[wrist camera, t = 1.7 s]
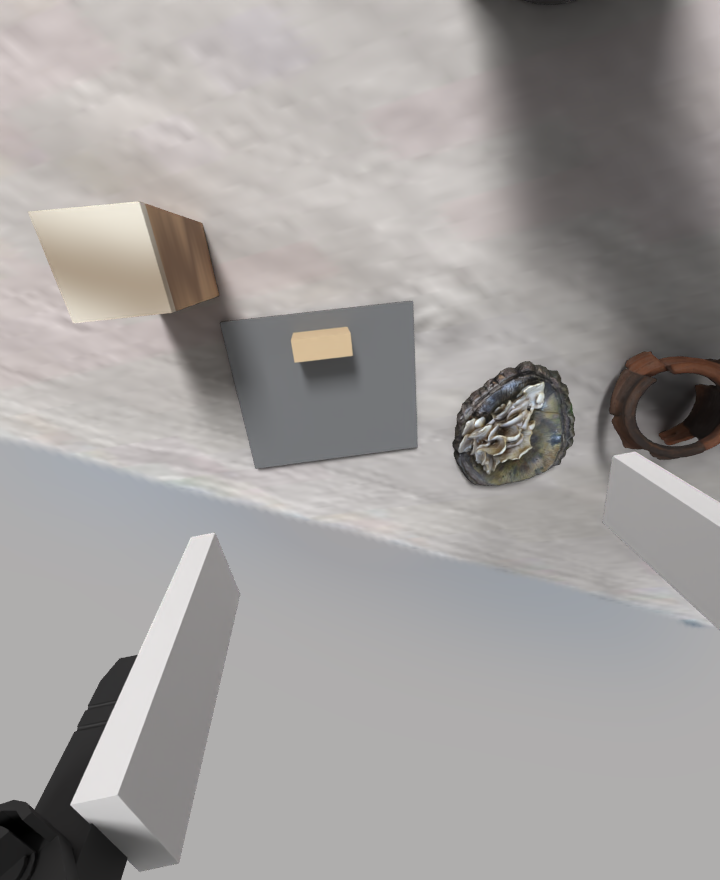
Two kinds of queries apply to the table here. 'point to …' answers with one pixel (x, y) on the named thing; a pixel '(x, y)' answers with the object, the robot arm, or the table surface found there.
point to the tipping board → (325, 382)
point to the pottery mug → (709, 420)
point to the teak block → (125, 260)
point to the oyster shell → (514, 426)
